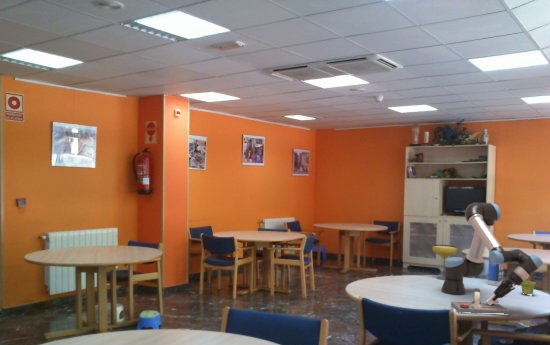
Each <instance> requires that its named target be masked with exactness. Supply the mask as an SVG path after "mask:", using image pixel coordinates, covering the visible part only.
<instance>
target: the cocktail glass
mask: <svg viewBox="0 0 550 345" xmlns="http://www.w3.org/2000/svg"><path fill="white" fill-rule="evenodd" d="M432 252H433V253H435V254H437V256H440V257H441V258H442V260H443V271H442V272H443V275H442V276H437V277H436V279H437V280H441V281H445V261H446V259H447V258H450V257H451V256H453V255H455V254H457V252H458V247H457V246H454V245H448V244H447V245H446V244H433V245H432Z"/></svg>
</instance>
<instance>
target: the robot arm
mask: <svg viewBox="0 0 550 345" xmlns="http://www.w3.org/2000/svg"><path fill="white" fill-rule="evenodd" d="M501 213H502V212H501V209H500V206H498V204H496V203H492V202H471V203H470V204H468V205H467V207H466V209H465V211H464V218H465V220H466V221H467V223H468V225H470V226H472V228H473V229H474V234H473V237H472V239H471V240H472V241H471V244H470V249H469V252H468V253H467V254H465V258H463V257H460V256H456V257H455V256H452V257H451V256H450V257H447V258H446V259H445V280H443V284H442V287H441V292H442V293H444V294H448V295H454V296H455V295H456V296H459V295H460V296H461V295H466V287H465V285H464V278H466V277H469V278H471V277H472V278H477V277H481V276H483V275H484V273H485V271H486V262H485V260H484V258H483V255H484V252H485V247H486V248H487V250H488V259H489V258H490V261H491V262H492V263H497V264H502V263H504V264H518V265H519V266H516V268H515V269H513V271H512V272H510V273H509V275H508V279H506V280H503V282H502V283H501V284H500V285H499V286H497V287H496V289H495V290H494V291H493V294H492V295H491V296H490V297H489V298H488V299H486V300H487V301H486V300H485V303H486V302H487V303H488V304H489V305H491V304H492V303H493V302H495V301H496V300H498V299H502V298H504V297H505V296H506V295H508V294H509V293H511V292H512V291H514V290H516V287H515V286H520V285H521V283H522V282H523V281H527V279H529V277H530V276H532V274H534V273H535V272H536V271H537V270H538V269H539V268H540V267H541V266H542V265H543V264H544V262H543V259H541V258H540V257H539V256H538V255H537V254H534V253H532V254H530V255H529V254H527V253H526V252H524V251H523V250H521V249H519V248H517V247H512V248H510V249H509V250H506V249H504V248H503V247H502V244H500V242H499V241H498V239H497V238H496V236H495V235H494V234H493V232H492V231H491V227H493V226H495V222H498V221H499V220H500V219H501V215H502V214H501ZM489 252H490V254H489Z"/></svg>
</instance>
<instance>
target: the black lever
mask: <svg viewBox="0 0 550 345" xmlns="http://www.w3.org/2000/svg"><path fill="white" fill-rule="evenodd" d="M480 291H481V289H480V288H474V295H473V296H474V298H473V299H474V300H472V301H471V302H472V303H473V304H474V301H475V292H480ZM481 303H482V301H480V304H481Z"/></svg>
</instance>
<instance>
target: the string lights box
mask: <svg viewBox="0 0 550 345" xmlns="http://www.w3.org/2000/svg"><path fill="white" fill-rule="evenodd" d="M489 254H490V252H489V251H488V255H489ZM504 265H505V263H502V264H497V263H492V262H491V261H490V258H489V257H488V271H487V272H488V273H487V274H488V278H487V285H490V286H494V287H499V285H500V284H501V283H502V282H503V281H504Z"/></svg>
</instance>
